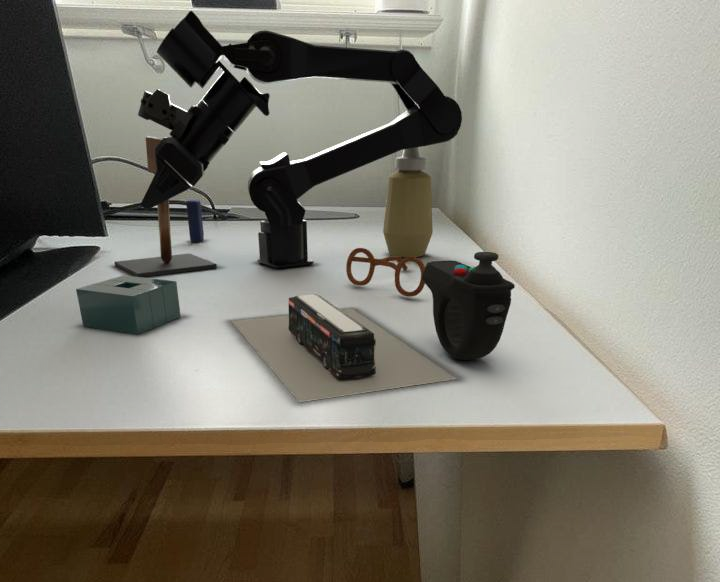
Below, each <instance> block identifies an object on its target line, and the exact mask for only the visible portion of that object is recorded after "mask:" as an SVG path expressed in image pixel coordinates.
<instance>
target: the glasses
mask: <svg viewBox="0 0 720 582" xmlns="http://www.w3.org/2000/svg"><path fill="white" fill-rule="evenodd" d="M360 253H362V254H364V255H365V256H366V257H363V256H356V255H358V254H360ZM394 261H396V262H397V264H396V263H395V262H394ZM353 262H355V263H356V262H358V263H367V264H369V270H368V273H367V275H366V277H365V279H363V280H357V279H356V278H355V277H354V276H353V272H352V263H353ZM411 262H412V263H415V264H416V265H417V266H418V268H419V270H420V271H419V272H420V280H419V284H418V286H417V287H416V288H415V289H414V290H412V291H407V290H406V289H404V288H403V287H402V284H401V280H400V278H401V277H400V276H401V270H403V271H404V272H407V271H408V268H409V267H408V265H407V263H411ZM377 266H381V267H382V266H383V267H388V268H392V269H393V270H394V285H395V289H396V290H397V292H398V293H399V294H400V295H402V296H404V297H416V296H418V295H419V294H420V293H421V292H422V290H423V289H424V288H425V286H426V284H425V283H424V281H423V279H422V274H423V271H424V269H425V267H426V265H425V264H424V262H423V261H422V259H420V258H419V257H406V258H403V257H399V256H392V255H390V256H386V257H383V258H375V256H374V255H373V253H372V252H371V251H370V250H369V249H367V248H364V247H356V248H355V249H353V250H351V252H350V253H349V255H348V256H347V260H346V265H345V271H346V277H347V279H348V280H349V281H350V282H351V284H353V285H355V286H359V287H361V286H366V285H367V284H369V283H370V282H371V280H372V279H373V276H374V272H375V269H376V267H377Z"/></svg>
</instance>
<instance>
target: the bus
mask: <svg viewBox="0 0 720 582" xmlns="http://www.w3.org/2000/svg"><path fill="white" fill-rule="evenodd" d="M230 322H231V323H232V324H233V326H234V327H235V328H236V329H237V330H238V332H240V334H241V335H242V336H243V337H244V338H245V339H246V341H247V342H248V344H250V346H251V347H252V348H253V349H254V350H255V352H257V354H258V355H259V356H260V357H261V359H262V360H263V361H264V362H265V363H266V364H267V366H268V367H269V368H270V369H271V371H272V372H273V373H274V374H275V375H276V376H277V377H278V378H279V380H280V381H281V382H282V383H283V384H284V386H285V387H286V388H287V389H288V390H289V392H290V393H291V394H292V395H293V396H294V397H295V398H296V400H297V401H298V402H299V403H301V402H302V403H303V402H309V401H316V400H323V399H330V398H337V397H344V396H350V395H351V396H352V395H358V394H365V393H371V392H377V391H385V390H392V389H397V388H399V389H400V388H406V387H412V386H418V385H419V386H421V385H425V384H426V385H427V384H432V383H441V382H445V381H454V380H457V377H455V376H453V375H452V374H450V373H449V372H447V371H446V370H444V369H443V368H441V367H440V366H438V365H437V364H435V363H434V362H433V361H431V360H430V359H429V358H426V357H425V356H423V354H421V353H419V352H417V351H416V350H414V349H413V348H411V346H409V345H407V344H405V343H404V342H403V341H401V340H400V339H398V338H396V337H395V336H393V334H391V333H389V332H387V331H386V330H385V329H383V328H382V327H380V326H378V325H377V324H376V323H374V322H373V321H371V320H370V319H368V318H367V317H365V316H364V315H362V314H360V313H359V312H358V311H356V310H354V309H353V308H347V309H345V308H344V309H339V308H338V307H337V306H335V305H334V304H332V303H331V302H330V301H328V300H327V299H325V298H324V297H322V296H321V295H319V294H315V293H313V294H303V295H295V296H292V297H288V314H287V315H286V314H285V315H277V316H267V317H258V318H257V317H256V318H246V319H237V320H231V321H230Z"/></svg>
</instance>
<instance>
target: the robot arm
mask: <svg viewBox="0 0 720 582" xmlns="http://www.w3.org/2000/svg"><path fill="white" fill-rule="evenodd" d="M156 54H157V55H158V56H159V57H160V58H161V59H162V60H163V61H164V62H165V63H166V64H167V65H168V66H169V67H170V68H171V69H172V70H173V71H174V72H175V73H176V74H177V75H178V76H179V78H181V79H182V80H183V81H184V82H185V83H186V85H187V86H188V87H189V88H193V87H194V86H195V85H196V84H197V85H198V86H199V87H200V88H201V89H202V90H203V89H204V88H205V87H206V85H207V84H209V82H210V81H211V79H212V78H213V77H214V75H215V74H216V73H217V72H218V71H219V69H221V71H222V73H221V74H220V75H219V76H218V78H217V79H216V80H215V81H214V83H213V84H212V85H211V87H209V89H208V90H207V92H206V93H205V94H204V95H203V97H202V98H201V99H200V100H199V102H198V103H197V104H195V105H194V104H192V105H190V106H191V107H190V108H188V109H184V108H182V107H180V106H178V105H176V104H174V103H172V102H171V96H170V94H168V93H166V92H165V91H162V90H161V89H156V90H155V91H154V92H151V91H148V90H144V91H143V95H142V97H141V99H140V105H139V109H138V113H137V117H140V118H142V119H143V120H146V121H149V120H150V121H152V122H153V123H156V124H158V125H160V126H162V127H164V128H167V129H168V130H170V132H169V136H165V137H163V139H162V141H161V142H160V143H159V144H158V146H157V147H156V148H155V152H154V157H155V160H156V166H157V171H156V173H154V176H153V178H152V180H151V181H150V184H149V186H148V188H147V190H146V192H145V194H144V197H143V198H142V199H141V202H140V206H141V207H142V208H143V209H144V210H145V211H148V210H150V209H152V208H155V207H156V206H157V205H158V204H160V203H162V202H164V201H166V200H168V199H169V200H170V199H172V198H174V197H176V196H179V195H180V194H183V193H184V192H186V191H188V190H190V189H192V188H194V187H195V186H196V184H197V183H198V182H199V181H200V180H201V179H202V178H203V176H204V175H205V171H206V170H207V169H208V167H209V165H210V163H211V162H212V161H213V160H214V158H215V157H216V156H217V154H219V152H220V151H221V150H222V149H223V147H224V146H226V144H227V143H228V141H229V140H230V139H231V138H232V136H234V134H235V133H236V132H237V130H238V129H239V128H240V127H241V126H242V125H243V123H244V122H245V121H246V120H247V118H248V117H249V116H250V115H251V114H252V112H253V111H254V110H255V109H256V108H257V109H258V110H259V111H260V112H261V113H262V114H263V115H264V116H265V117H268V116H270V108H269V101H270V97H271V95H270V93H268V92H265V93H261V92H260V90H258V88H256V86H255V85H254V84H253V83H252V82H251V81H250V80H249V79H248V78H247V77H246V76H244V77H243V78H241V80H240V81H239V80H238V78H236V76H235V75H234V74H232V72H231V71H230V70H229V69H228V68H227V67H226V66H225V65H224V64H223V62H222V61H220V60H221V59H222V58H223V60H224V61H225V62H226V63H227V65H229V66H230V67H231V68H233V69H237V70H241V71H246V72H247V74H248V76H250V77H251V79H253V81H255V82H256V83H260V84H264V85H269V84H277V83H282V82H289V81H290V82H291V81H297V80H302V79H303V80H304V79H308V78H309V79H310V78H315V79H329V80H330V79H331V80H346V81H347V80H348V81H363V82H379V83H388V84H390V85H391V86H392V87H393V89H394V90H395V92H396V94H397V96H398V98H399V99H400V101H401V103H402V105H403V106H404V107H405V109H406V110H405V111H404V112H402V113H401V114H400V115H398V116H397V117H396V118H394V119H393V120H392V121H391V122H389V123H387V124H384V125H381V126H380V127H377V128H375V129H372V130H370V131H367V132H365V133H362V134H360V135H357V136H356V137H353V138H351V139H348V140H345V141H343V142H341V143H338V144H335V145H333V146H331V147H329V148H326V149H324V150H321V151H320V152H317V153H315V154H311V155H310V156H307V157H304V158H301V159H296V160H295V159H294V160H290V156H289V154H288V153H287V152H285V151H283V152H282V153H280V154H278V155H276V156H275V157H273V158H272V159H270V160H267V161H266V160H265V161H263V160H261V161H259V162H258V164H259V165H260V166H258V167H257V168H256V169H254V170H253V171H252V172H251V173H250V175H249V178H248V180H247V190H248V194H249V198H250V200H251V202H252V203H253V205H254V206H255V207H256V208H257V209H258V210H259V211H261V212H264V214H265V217H266V219H265V220H260V222H259V226H260V231H259V232H258V234H257V235H258V236H257V237H258V238H257V239H258V252H259V258H257V263H260V264H263V265H266V266H269V267H272V268H274V269H285V268H291V267H292V268H293V267H300V266H307V265H313V264H314V260H312V259H309V256H308V255H309V253H308V250H309V249H308V223H307V221H308V220H307V219H304V217H305V214H306V208H304V206H303V205H302V204H301V202H300V201H299V198H301V197H302V196H304V195H305V194H306V193H307V192H308V191H310V190H311V189H312V188H314V187H316V186H318V185H321V184H323V183H325V182H327V181H331V180H332V179H335V178H337V177H340V176H342V175H345V174H347V173H350V172H352V171H354V170H357V169H359V168H361V167H364V166H366V165H368V164H371V163H373V162H376V161H378V160H381V159H384V158H386V157H388V156H390V155H393V154H395V153H397V152H400V151H402V150H404V149H409V148H416V147H418V148H422V147H428V146H433V145H437V144H442V143H446V142H450V141H451V140H452V139H454V138H455V137H456V136H457V135H458V134H459V131H460V129H461V127H462V122H463V115H462V113H463V112H462V110H461V107H460V105H459V103H458V102H457V101H456V100H455V99H454V98H453V97H450V96H447V95H445V94H444V93H443V91H442V90H441V89H440V86H438V84H437V83H436V82H435V81H434V80H433V79H432V77H430V75H429V74H428V73H427V72H426V71H425V70H424V69H423V68H422V67H421V65H420V64H419V61H417V60H416V57H415V56H414V54H413V53H412V52H411V51H410V50H407V49H398V50H386V49H371V48H361V47H360V48H357V47H344V46H331V45H320V44H319V45H317V44H313V43H309V42H305V41H303V40H300V39H297V38H295V37H292V36H289V35H285V34H281V33H278V32H274V31H270V30H259V31H256V32H254V33H253V34H252V35H251V36H250V37H249V38H248V40H247V41H246V42H243V43H235V44H231V43H230V42H229V43H228V45H222V44H221V43H220V42H219V41H218V40H217V39H216V37H214V35H213V34H212V33H211V32H210V31H209V30H208V29H207V27H205V25H204V24H203V23H202V21H201V19H200V18H199V17H198V16H197V14H196V13H194V11H193V10H189V11H188V12H187V14H186V15H185V17H183V18H182V19H181V20H180V21H179V23H178V24H177V25H176V26H175V27H174V28H173V27H172V28H171V29H170V30H169V32H168V33H167V34H166V35H165V37H164V39H163V40H162V41H161V42H160V44H159V46H158V47H157V50H156Z"/></svg>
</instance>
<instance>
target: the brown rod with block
mask: <svg viewBox="0 0 720 582" xmlns="http://www.w3.org/2000/svg"><path fill="white" fill-rule="evenodd" d="M163 138H164V137H163ZM163 138H162V137H158V136H153V135H147V136H145V146H146V147H145V149H146V161H147V172H148V173H152V174H155V173H156V171H157V166H156V160H155V157H154V152H155V148H156V147H157V146H158V144H159V143H160V142H161V141H162V139H163ZM156 206H157V220H158V221H157V223H158V235H159V249H160V250H159V251H160V252H159V253H160V257H161V259H162V261H163V262H165V263H169V262H170V261H171V260H172V255H173V251H172V233H171V232H172V231H171V218H170V216H171V215H170V214H171V213H170V199H168V200H166V201H164V202H162V203H160V204H158V205H156Z"/></svg>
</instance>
